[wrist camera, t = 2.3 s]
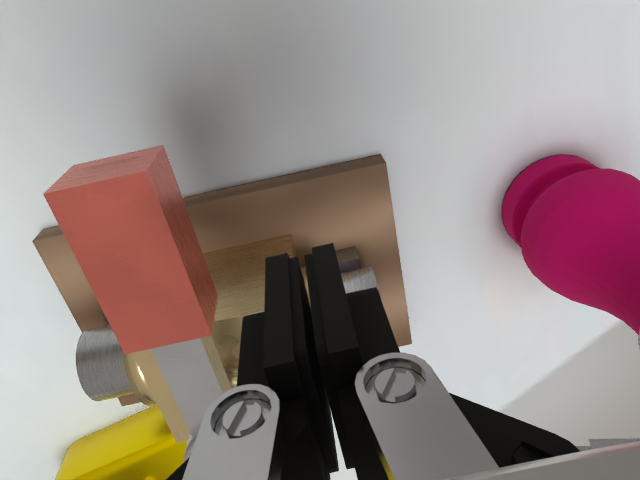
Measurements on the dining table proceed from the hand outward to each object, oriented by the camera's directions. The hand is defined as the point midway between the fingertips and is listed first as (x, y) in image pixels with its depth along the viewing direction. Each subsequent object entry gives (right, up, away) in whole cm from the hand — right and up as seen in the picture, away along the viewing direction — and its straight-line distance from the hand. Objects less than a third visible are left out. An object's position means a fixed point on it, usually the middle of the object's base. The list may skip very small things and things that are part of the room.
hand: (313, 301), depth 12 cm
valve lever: (-5, -2, +7) cm, 9 cm away
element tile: (-10, -16, +28) cm, 34 cm away
